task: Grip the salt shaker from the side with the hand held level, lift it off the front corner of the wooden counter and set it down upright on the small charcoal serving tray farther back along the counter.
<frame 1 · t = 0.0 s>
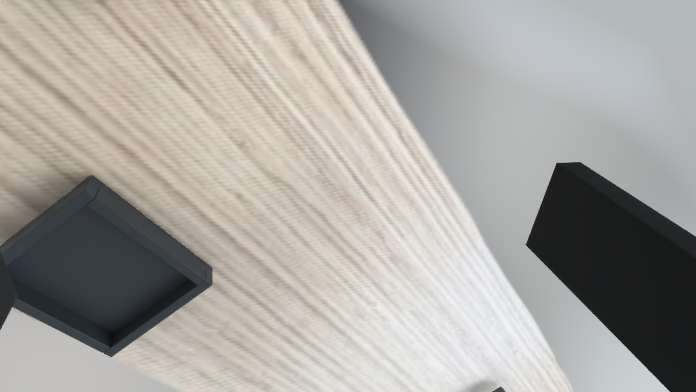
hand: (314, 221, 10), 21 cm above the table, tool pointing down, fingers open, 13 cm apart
serving tray: (105, 265, 33), on the table
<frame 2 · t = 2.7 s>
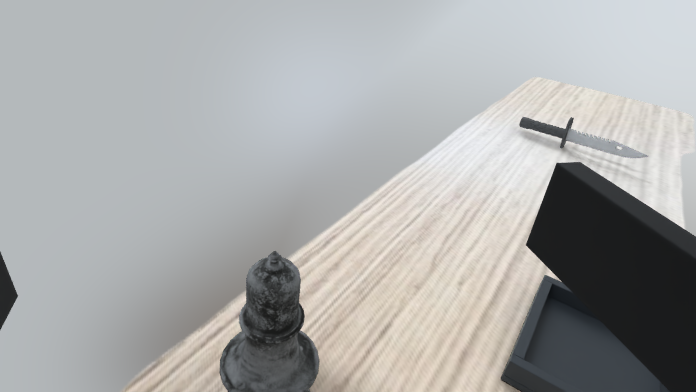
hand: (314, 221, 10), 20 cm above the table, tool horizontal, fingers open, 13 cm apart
serving tray: (589, 365, 33), on the table
knife: (575, 152, 70), on the table
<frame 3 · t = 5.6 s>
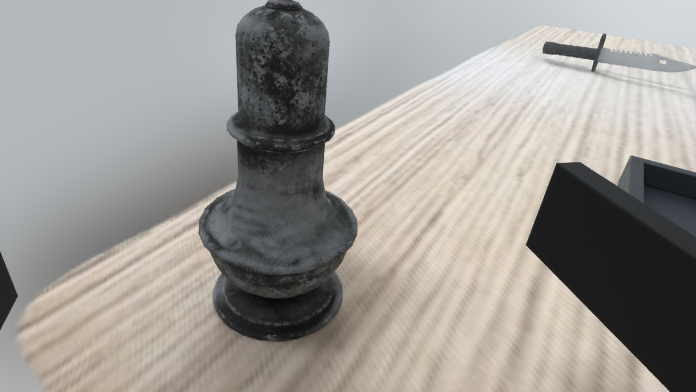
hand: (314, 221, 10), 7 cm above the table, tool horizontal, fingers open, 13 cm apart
salt shaker: (279, 293, 18), on the table
knife: (609, 74, 61), on the table
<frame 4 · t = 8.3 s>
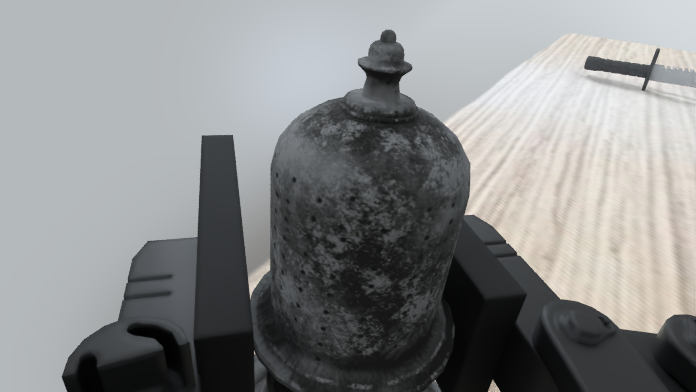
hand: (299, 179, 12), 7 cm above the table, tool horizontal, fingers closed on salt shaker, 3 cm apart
knife: (662, 94, 54), on the table
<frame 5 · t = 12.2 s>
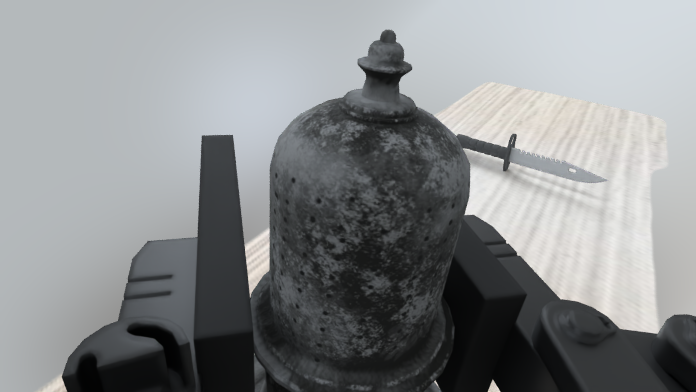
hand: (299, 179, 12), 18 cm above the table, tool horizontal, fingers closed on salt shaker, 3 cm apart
knife: (521, 176, 56), on the table
when the fingers open (8 cm above the table, at t = 16.3 s): salt shaker stays where it is, resting on serving tray.
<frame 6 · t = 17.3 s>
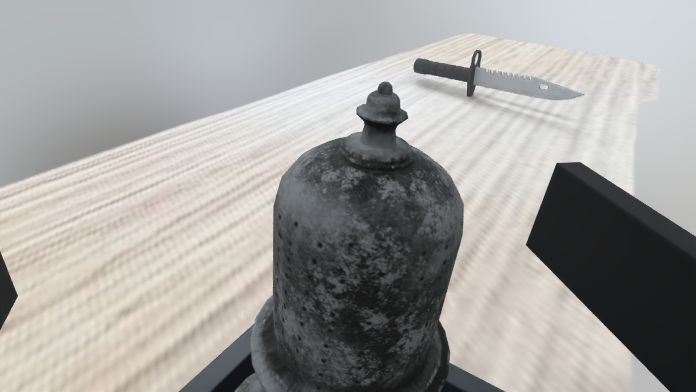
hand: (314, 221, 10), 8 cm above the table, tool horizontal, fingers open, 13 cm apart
knife: (487, 100, 49), on the table
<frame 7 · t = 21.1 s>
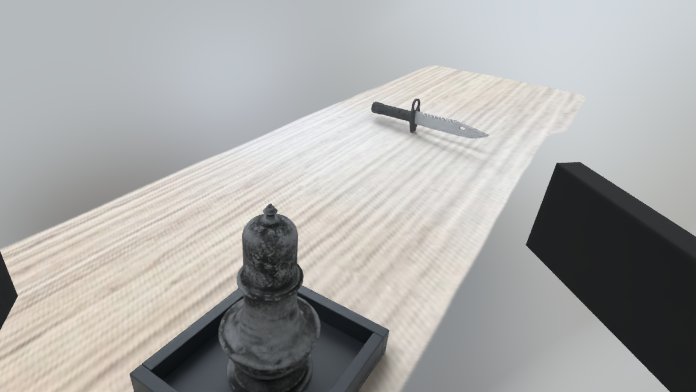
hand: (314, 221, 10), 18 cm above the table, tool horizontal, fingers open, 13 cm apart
salt shaker: (270, 368, 27), resting on serving tray
serving tray: (270, 372, 28), on the table
knife: (425, 136, 65), on the table
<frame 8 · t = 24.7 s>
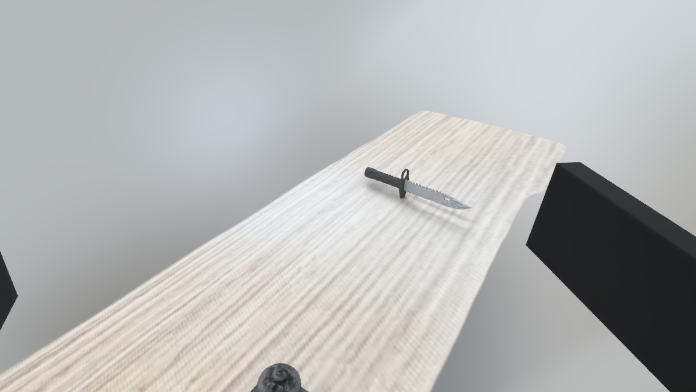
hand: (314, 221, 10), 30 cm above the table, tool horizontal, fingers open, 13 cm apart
knife: (413, 202, 71), on the table
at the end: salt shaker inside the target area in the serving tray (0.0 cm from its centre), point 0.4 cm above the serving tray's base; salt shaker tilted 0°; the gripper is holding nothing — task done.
